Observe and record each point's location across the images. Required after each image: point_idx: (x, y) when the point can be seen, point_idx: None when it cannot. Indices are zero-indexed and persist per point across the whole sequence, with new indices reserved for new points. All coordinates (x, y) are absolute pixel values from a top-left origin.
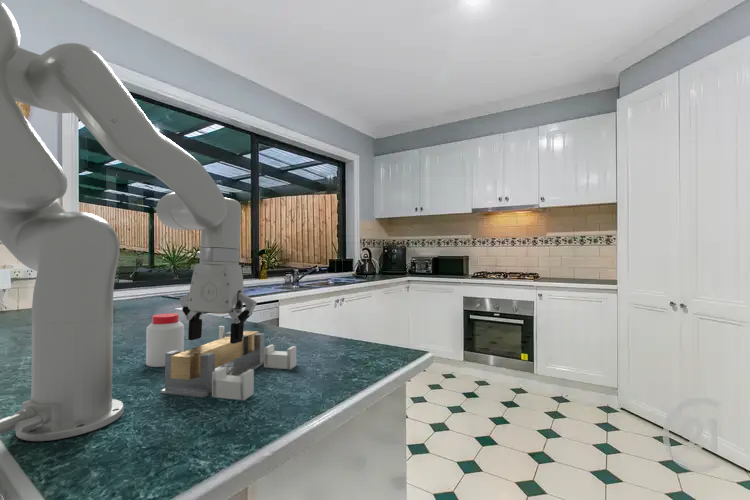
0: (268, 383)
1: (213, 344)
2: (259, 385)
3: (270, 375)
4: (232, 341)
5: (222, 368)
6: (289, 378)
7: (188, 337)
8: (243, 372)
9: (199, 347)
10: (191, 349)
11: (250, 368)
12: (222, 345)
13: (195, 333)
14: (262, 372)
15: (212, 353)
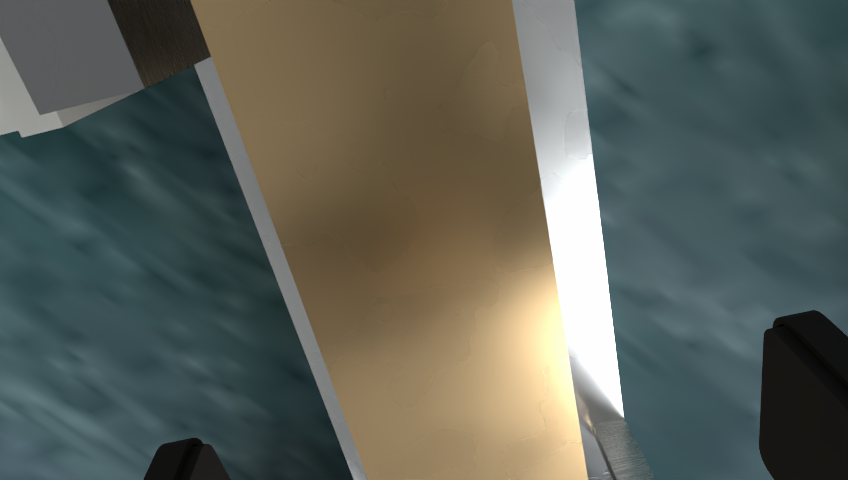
0: (36, 329)
1: (464, 385)
2: (48, 279)
3: (165, 431)
4: (159, 456)
5: (18, 93)
6: (14, 442)
7: (828, 323)
8: (322, 378)
9: (496, 225)
10: (502, 107)
11: (349, 446)
12: (342, 404)
13: (805, 428)
14: (259, 447)
15: (62, 97)
